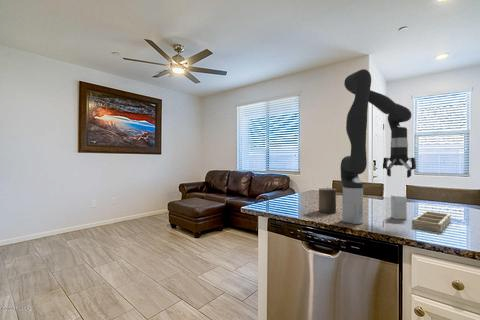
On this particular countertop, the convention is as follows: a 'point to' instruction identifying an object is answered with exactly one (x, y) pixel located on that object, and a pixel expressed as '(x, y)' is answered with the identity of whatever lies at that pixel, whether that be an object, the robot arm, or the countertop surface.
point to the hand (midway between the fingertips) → (398, 176)
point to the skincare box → (398, 207)
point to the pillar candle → (327, 200)
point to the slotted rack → (431, 221)
